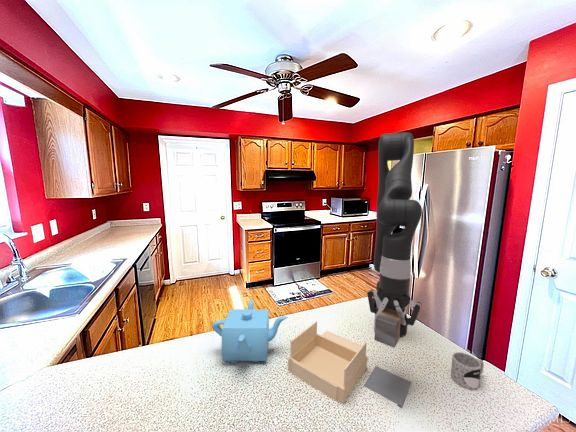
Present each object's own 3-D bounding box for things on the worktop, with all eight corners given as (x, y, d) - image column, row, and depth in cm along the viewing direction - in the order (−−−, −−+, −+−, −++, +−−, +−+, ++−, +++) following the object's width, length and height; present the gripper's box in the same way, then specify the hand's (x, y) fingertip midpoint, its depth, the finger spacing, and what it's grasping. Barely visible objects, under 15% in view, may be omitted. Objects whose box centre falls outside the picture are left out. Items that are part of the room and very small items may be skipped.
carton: (322, 340, 89) (323, 315, 88) (371, 362, 77) (372, 335, 76) (287, 372, 73) (287, 342, 72) (342, 406, 61) (344, 372, 60)
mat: (375, 367, 75) (375, 365, 75) (410, 383, 69) (410, 381, 69) (363, 387, 67) (363, 385, 67) (401, 407, 61) (401, 405, 61)
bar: (388, 321, 73) (389, 302, 72) (405, 327, 70) (407, 307, 69) (374, 340, 63) (375, 318, 63) (394, 347, 60) (395, 325, 60)
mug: (466, 392, 66) (469, 370, 66) (445, 374, 73) (447, 354, 72) (493, 385, 69) (495, 363, 68) (470, 368, 75) (472, 348, 75)
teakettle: (208, 353, 80) (207, 312, 79) (252, 330, 94) (252, 294, 92) (242, 385, 67) (242, 336, 66) (287, 353, 81) (288, 312, 79)
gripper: (427, 275, 63) (422, 336, 65) (373, 264, 72) (370, 317, 74) (422, 283, 57) (416, 350, 59) (363, 270, 66) (360, 328, 68)
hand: (390, 331), depth 67 cm, fingers closed on bar, 5 cm apart
